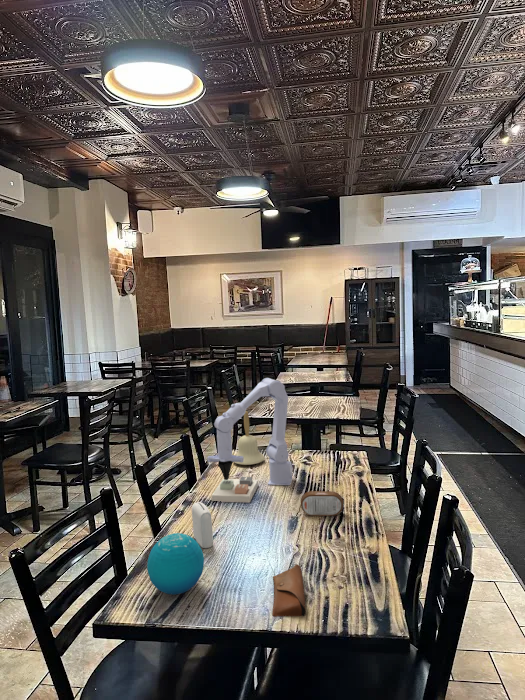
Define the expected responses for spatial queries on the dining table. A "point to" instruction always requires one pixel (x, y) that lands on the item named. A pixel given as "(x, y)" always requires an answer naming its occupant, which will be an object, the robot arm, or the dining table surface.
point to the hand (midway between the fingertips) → (226, 479)
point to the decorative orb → (175, 563)
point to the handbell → (248, 446)
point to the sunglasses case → (289, 593)
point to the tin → (321, 503)
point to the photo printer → (202, 525)
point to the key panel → (230, 495)
